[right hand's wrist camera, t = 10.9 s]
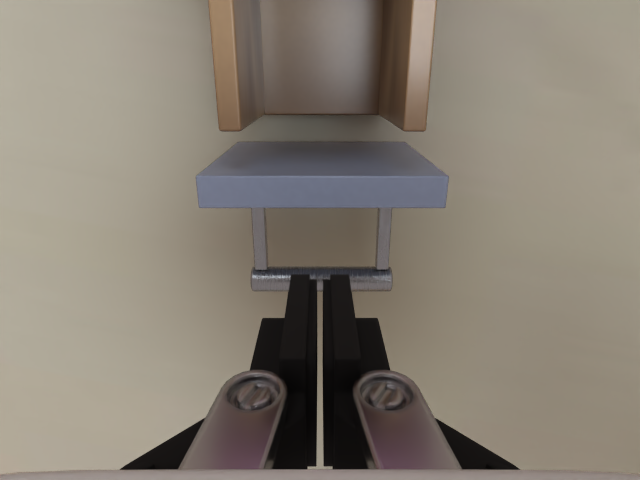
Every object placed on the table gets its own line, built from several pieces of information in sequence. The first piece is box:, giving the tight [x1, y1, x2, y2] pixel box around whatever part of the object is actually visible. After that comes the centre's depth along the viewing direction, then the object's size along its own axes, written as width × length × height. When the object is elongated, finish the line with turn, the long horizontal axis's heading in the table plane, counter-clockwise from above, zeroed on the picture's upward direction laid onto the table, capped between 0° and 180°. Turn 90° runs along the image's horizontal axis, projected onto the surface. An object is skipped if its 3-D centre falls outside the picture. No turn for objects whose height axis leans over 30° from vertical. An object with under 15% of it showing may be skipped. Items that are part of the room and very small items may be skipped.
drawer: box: [196, 0, 449, 291], centre depth 17 cm, size 26×9×8 cm, turn 0°
